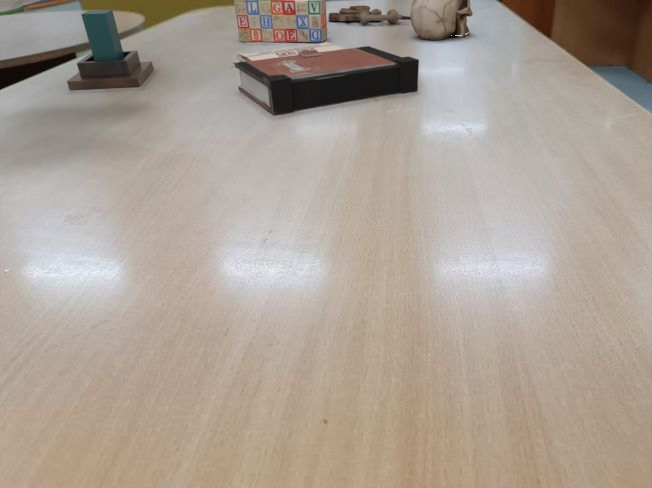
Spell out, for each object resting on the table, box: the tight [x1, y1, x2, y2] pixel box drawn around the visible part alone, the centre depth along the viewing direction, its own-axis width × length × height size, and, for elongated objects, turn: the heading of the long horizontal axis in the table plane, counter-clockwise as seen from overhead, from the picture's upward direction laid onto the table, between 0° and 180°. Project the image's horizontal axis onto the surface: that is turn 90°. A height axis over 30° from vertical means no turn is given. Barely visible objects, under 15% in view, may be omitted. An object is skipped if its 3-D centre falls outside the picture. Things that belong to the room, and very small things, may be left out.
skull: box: [409, 0, 474, 41], centre depth 127 cm, size 16×17×13 cm
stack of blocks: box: [233, 0, 328, 43], centre depth 125 cm, size 21×6×12 cm, turn 80°
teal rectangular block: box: [80, 9, 124, 61], centre depth 93 cm, size 4×5×10 cm
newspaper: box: [232, 41, 346, 65], centre depth 108 cm, size 23×12×2 cm, turn 126°
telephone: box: [328, 4, 411, 25], centre depth 149 cm, size 15×33×4 cm, turn 87°
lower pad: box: [66, 50, 154, 91], centre depth 96 cm, size 12×14×4 cm
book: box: [234, 45, 420, 116], centre depth 87 cm, size 26×18×5 cm
